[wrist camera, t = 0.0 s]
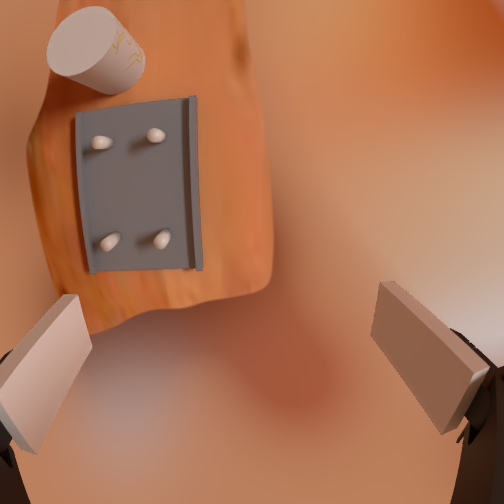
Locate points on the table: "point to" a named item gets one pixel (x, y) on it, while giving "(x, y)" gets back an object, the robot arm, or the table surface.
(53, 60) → the cup
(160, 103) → the tray
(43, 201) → the table surface
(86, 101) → the table surface
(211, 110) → the table surface
